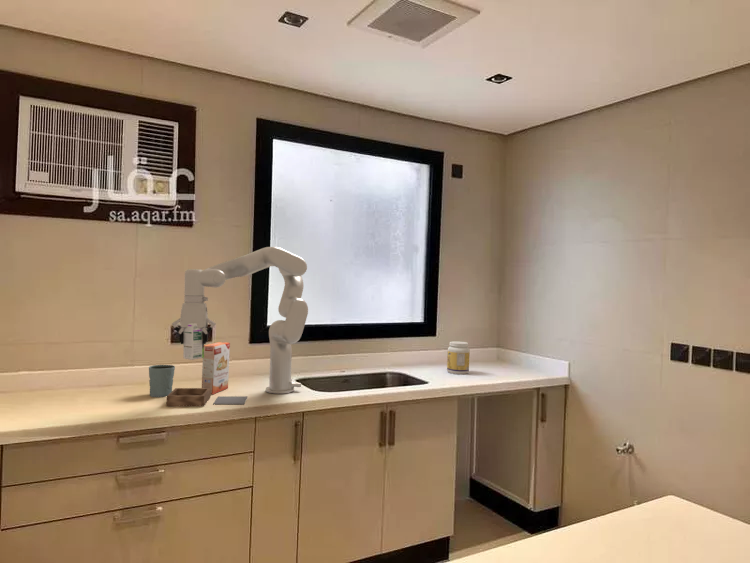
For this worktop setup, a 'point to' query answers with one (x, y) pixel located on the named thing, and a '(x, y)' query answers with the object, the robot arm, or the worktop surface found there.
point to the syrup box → (193, 342)
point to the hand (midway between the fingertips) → (193, 343)
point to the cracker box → (216, 366)
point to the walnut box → (188, 397)
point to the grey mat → (230, 400)
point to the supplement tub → (458, 357)
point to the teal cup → (161, 380)
